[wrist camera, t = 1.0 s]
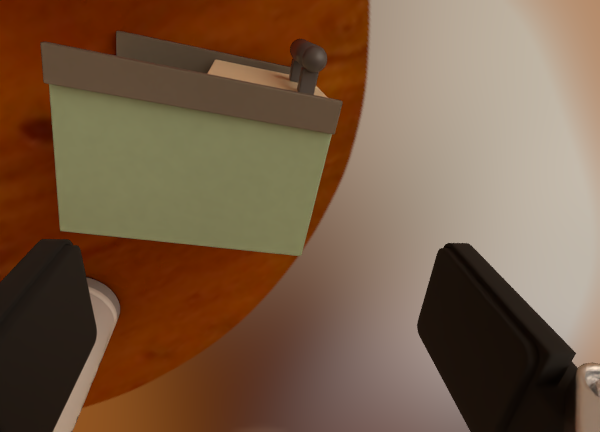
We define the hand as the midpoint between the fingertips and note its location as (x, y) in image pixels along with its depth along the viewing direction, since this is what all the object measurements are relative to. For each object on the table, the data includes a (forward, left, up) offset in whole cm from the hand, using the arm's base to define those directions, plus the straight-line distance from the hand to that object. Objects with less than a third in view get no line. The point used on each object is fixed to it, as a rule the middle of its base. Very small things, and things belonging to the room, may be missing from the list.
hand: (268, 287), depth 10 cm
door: (-4, 0, -18) cm, 19 cm away
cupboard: (+1, -3, -19) cm, 19 cm away
